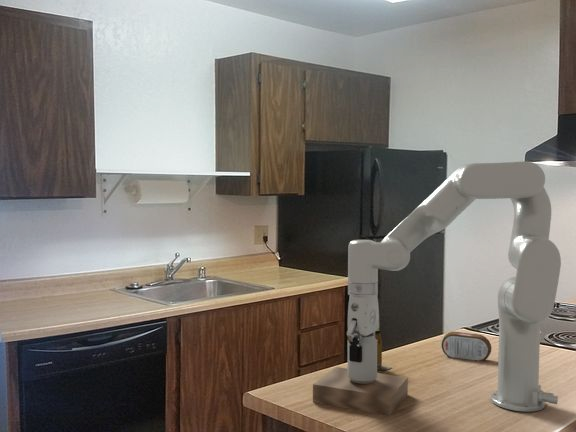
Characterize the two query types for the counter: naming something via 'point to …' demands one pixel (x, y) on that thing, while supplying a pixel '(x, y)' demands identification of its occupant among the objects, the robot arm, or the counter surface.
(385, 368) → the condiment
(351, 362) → the can
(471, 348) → the tin
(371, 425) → the counter surface
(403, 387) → the chopping block
